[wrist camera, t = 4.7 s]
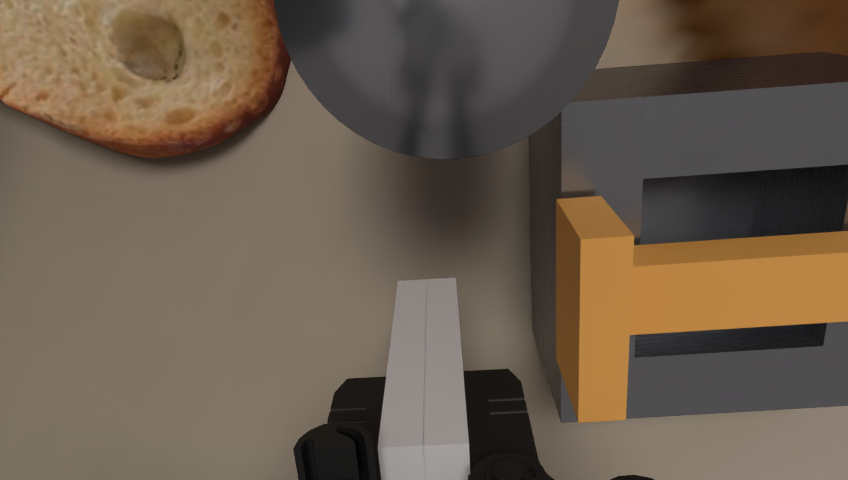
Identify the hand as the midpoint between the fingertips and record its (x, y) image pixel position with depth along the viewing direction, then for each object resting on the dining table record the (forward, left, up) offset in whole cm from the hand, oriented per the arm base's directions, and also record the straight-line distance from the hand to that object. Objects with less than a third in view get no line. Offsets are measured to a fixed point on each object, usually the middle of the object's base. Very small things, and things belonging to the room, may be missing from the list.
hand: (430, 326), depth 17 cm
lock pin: (+8, 0, -2) cm, 8 cm away
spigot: (+1, +8, -8) cm, 11 cm away
